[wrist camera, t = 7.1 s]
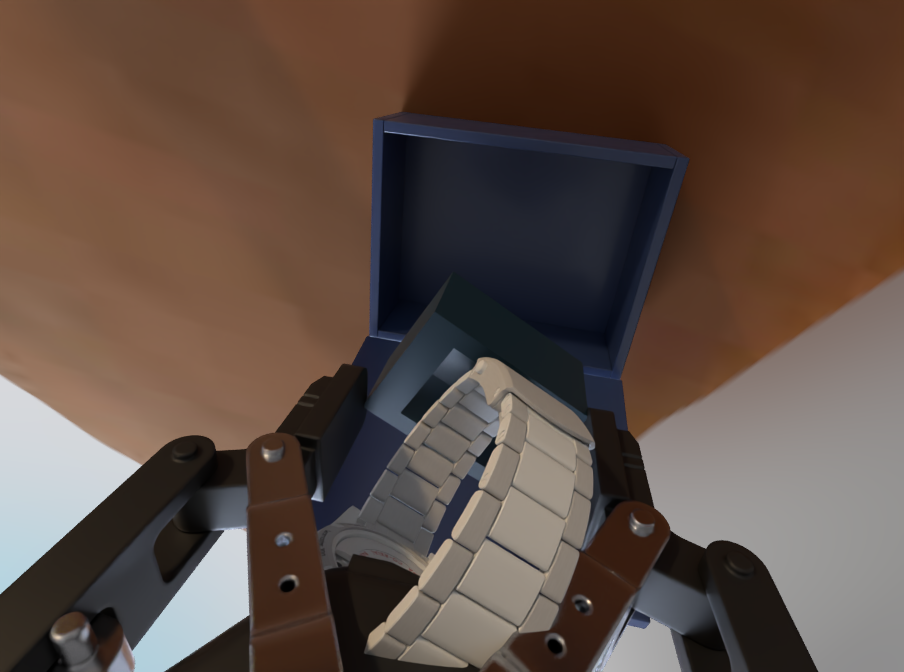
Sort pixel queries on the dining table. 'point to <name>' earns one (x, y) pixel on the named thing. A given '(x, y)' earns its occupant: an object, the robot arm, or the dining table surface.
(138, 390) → the dining table surface
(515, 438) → the watch
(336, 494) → the lid
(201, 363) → the dining table surface
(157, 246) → the dining table surface
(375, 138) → the case
